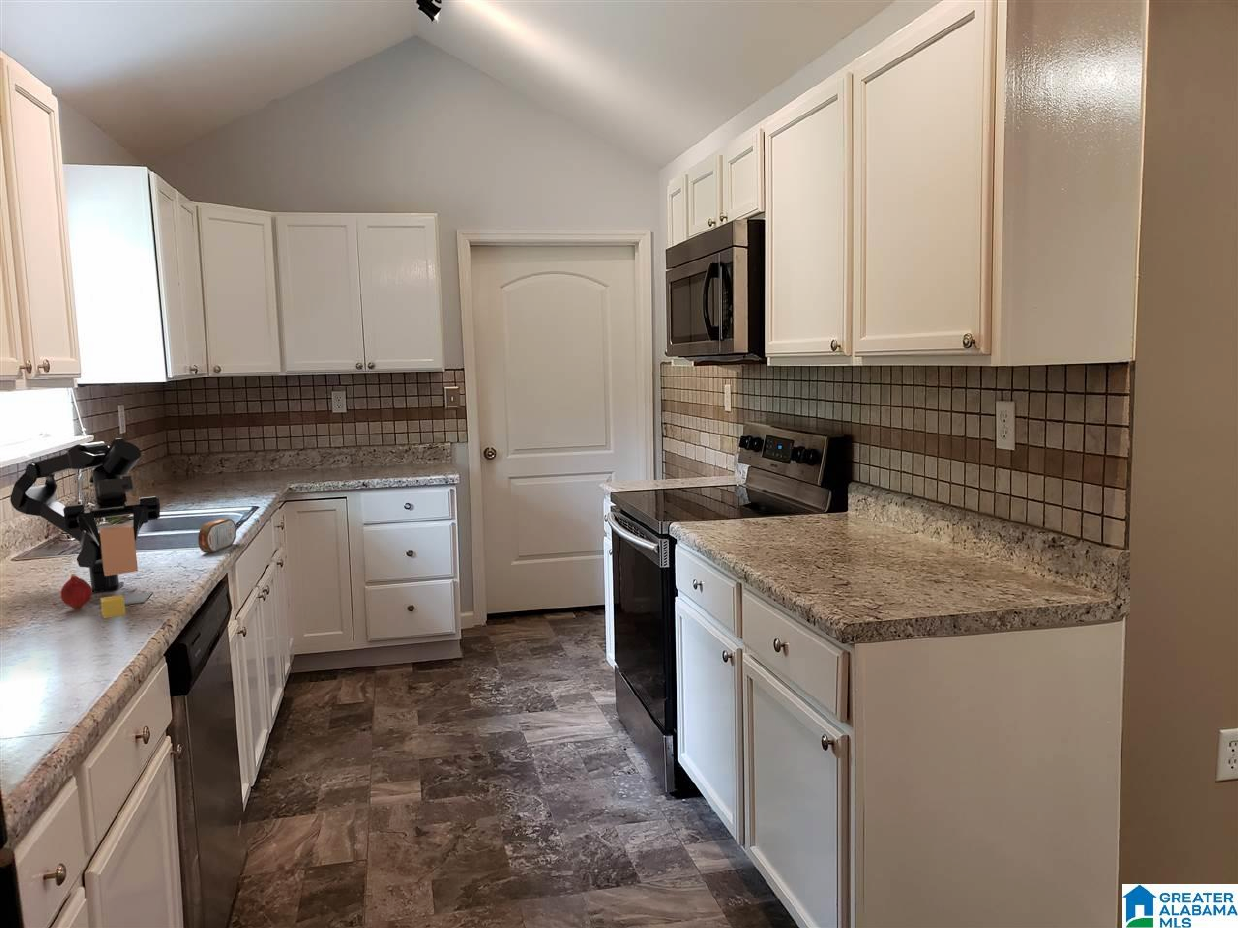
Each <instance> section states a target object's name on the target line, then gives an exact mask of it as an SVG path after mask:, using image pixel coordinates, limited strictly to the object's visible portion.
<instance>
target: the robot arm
mask: <svg viewBox="0 0 1238 928" xmlns="http://www.w3.org/2000/svg"><path fill="white" fill-rule="evenodd" d="M141 456H142V452H141V449H140V448H139V447H138V446H136V445H135V444H134V443H131V442H129V441H126V440H125V439H124V437H117V438H114V439H113V440H112V441H111V444H110V446H109V445H107V444H106V442H105V441H95V442H87V443H85V442H84V443H80V444H79V443H78V444H77V443H76V444H75V445H73V446H72V447H70V448H69V449H67V452H65V453H63V454H59V455H55V456H52V457H49V458H46V459H42V460H38V461H32V462H30V463H28V464H27V466H26V468H25V472H24V473H23V474H22V475H21V476H20V477H19V478H18V480H16V482H15V483H14V485H13V488H12V491H11V494H10V497H9V501H10V504H11V506H12V507H13V508H14V510H16V511H17V512H19V513H22V514H24V515H28V516H35V517H40V518H43V519H44V520H46V521H47V522H49V523H50V524H51V525H53V526H55V527H57V529H59V530H61V531H63V532H64V533H65V534H67V535H69V536H70V537H72V538H73V539H75V541H77V542H79V543H80V547H81V548H80V549H81V551H80V552H79V554H78V556H77V557H76V561H77V564H78V566H79V567H80V568H87V569H88V571H89V572H88V573H89V581H90V587H91V589H92V592H93V593H100V592H112V591H118V590H119V589H120V588H121V587H122V586H123V585H124V583H125V581H119V574H117V575H110V576H105V575H104V571H103V564H102V555H101V540H100V535H99V529H98V527H99V526H108V525H113V523H111V522H103V523H98V524H97V522H96V520H95V519H99V518H100V519H107V518H116V517H123V516H132V515H133V518H132V519H133V524H132V526H133V530H134V539H135V543H136V542H137V541H138V536H139V533H140V531H141V528H142V527H143V525H144V524H147V523H148V522H149V521H153V520H159V518H160V517H161V516H160V515H161V504H160V498H158V497H157V496H156V495H153V496H145V497H138V504H129V505H127V501H128V500H127V494H126V493H127V492H133V490H134V484H133V479H132V475H128V474H129V473H130V471H131V470H132V469H133V467H134V466H135V464H136V463H137V462H138V461H139V459H141ZM90 468H92V469H93V468H94V469H93V470H92V471H91V476H90V478H89V481H88V482H89V483H91V484H93V486H94V487H93V488H94V495H95V501H96V508H91V507H85V504H84V503H81V504H80V503H79V504H72V505H71V504H70V505H64V504H63V503H61V502H59V501H58V496H57V493H56V492H57V489H58V485H57V482H56V479H55V475H57V474H60V473H64V472H68V471H71V470H83V469H90ZM125 475H126V476H125ZM42 478H45V481H44V483H41V484H35V483H36V482H37V480H38V479H42ZM34 484H35V485H34Z"/></svg>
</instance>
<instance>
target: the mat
mask: <svg viewBox="0 0 1238 928" xmlns="http://www.w3.org/2000/svg"><path fill="white" fill-rule="evenodd" d="M152 593H153V594H154V592H153V591H148V592H138V593H137V592H136V593H129V594H121V595H122V596H123V598H124V606H129V605H130V606H131V605H142V604H145V603H146V602H147V600H148V599H150V597H151V596H152V595H151V594H152ZM150 595H151V596H150ZM111 596H112V595H111ZM111 596H110V595H109V596H108V597H111ZM149 596H150V597H149ZM97 609H101V604H99V606H97Z"/></svg>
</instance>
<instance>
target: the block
mask: <svg viewBox="0 0 1238 928" xmlns="http://www.w3.org/2000/svg"><path fill="white" fill-rule="evenodd" d="M122 595H123V594H118V595H111V597H109V596H105V597H100V605H101V608H100V609H101V615H102V617H103V618H104V619H106V618H111V617H117V616H123V615H126V607H125V606H126V605H124V598H123V596H122Z"/></svg>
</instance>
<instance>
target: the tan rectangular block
mask: <svg viewBox="0 0 1238 928" xmlns="http://www.w3.org/2000/svg"><path fill="white" fill-rule="evenodd" d="M98 529H99V535H100V540H101V555H102V564H103V571H104V575H105V576H110V575H117V574H118V575H123V574H129V573H137V572H139V567H138V560H137V548H136V542H135V539H134V530H133V524H132V522H123V523H117V524H112V525H108V526H99V527H98Z"/></svg>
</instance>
